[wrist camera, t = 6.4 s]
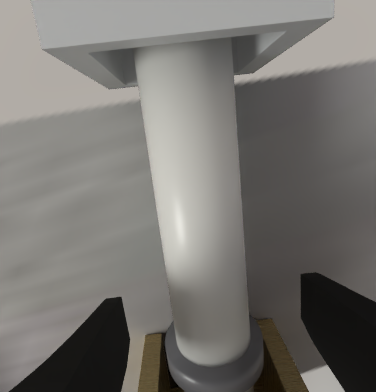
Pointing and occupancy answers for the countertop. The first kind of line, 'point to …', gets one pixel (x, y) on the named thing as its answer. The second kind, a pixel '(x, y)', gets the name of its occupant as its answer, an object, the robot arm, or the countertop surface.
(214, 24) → the light grey block
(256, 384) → the socket
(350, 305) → the robot arm
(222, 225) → the tube
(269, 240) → the countertop surface
